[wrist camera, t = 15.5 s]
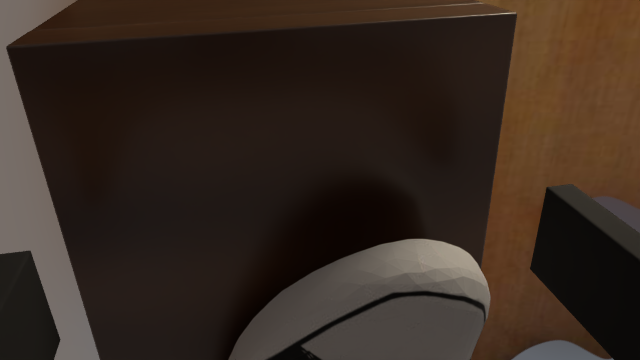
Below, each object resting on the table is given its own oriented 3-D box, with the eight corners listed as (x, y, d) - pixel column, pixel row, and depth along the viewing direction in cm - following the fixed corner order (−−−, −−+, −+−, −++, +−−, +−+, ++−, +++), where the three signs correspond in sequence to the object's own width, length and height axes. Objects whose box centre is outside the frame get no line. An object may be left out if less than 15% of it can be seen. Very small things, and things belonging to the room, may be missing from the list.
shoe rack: (146, -46, 44) (4, 46, 13) (306, -52, 47) (518, 12, 15) (196, 260, 59) (187, 651, 28) (317, 244, 61) (436, 588, 30)
